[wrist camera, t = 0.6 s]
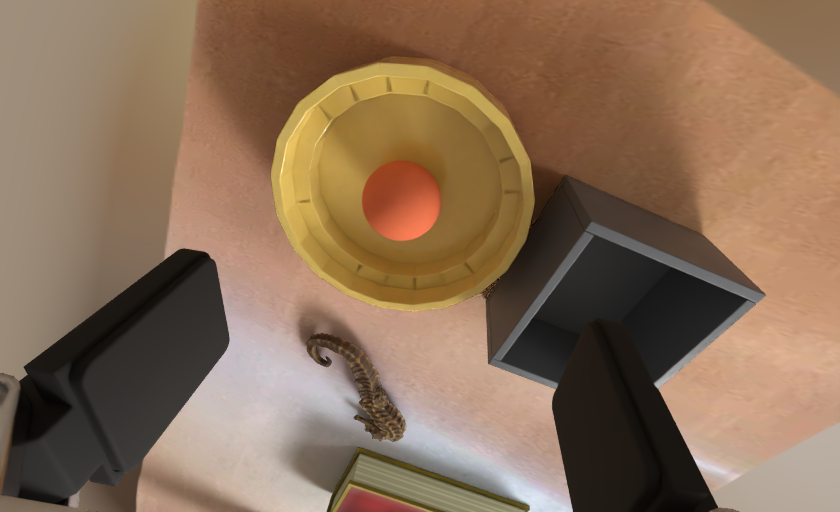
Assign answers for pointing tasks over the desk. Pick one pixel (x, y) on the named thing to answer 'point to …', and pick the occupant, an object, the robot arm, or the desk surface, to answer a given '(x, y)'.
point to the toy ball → (401, 200)
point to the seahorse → (363, 387)
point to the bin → (611, 287)
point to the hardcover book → (408, 490)
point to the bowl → (416, 142)
